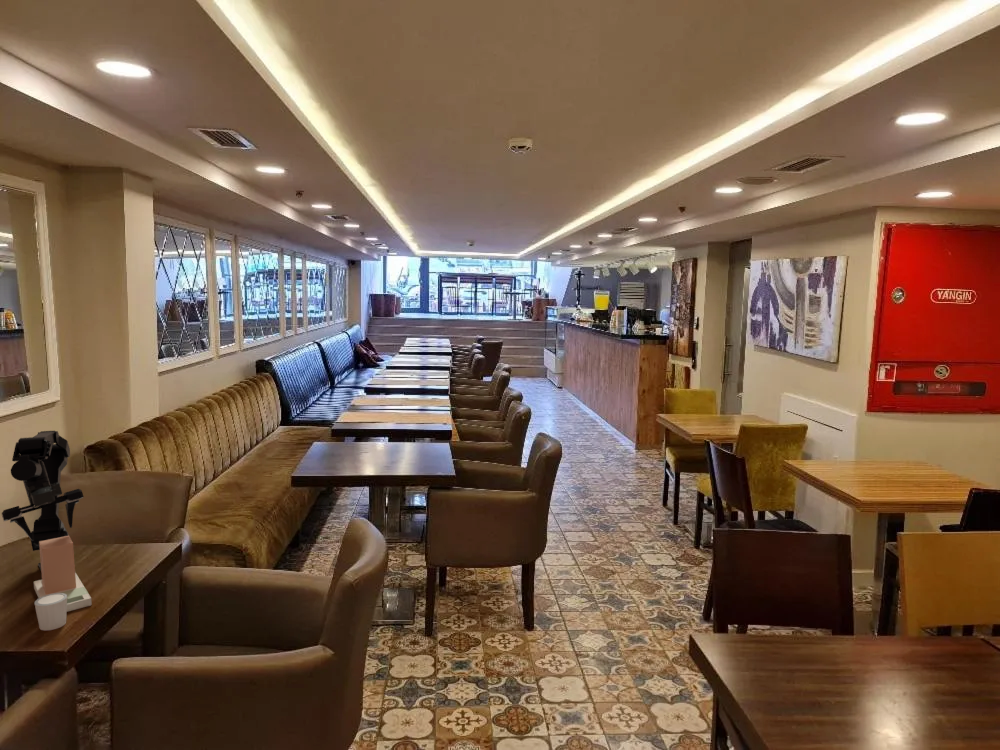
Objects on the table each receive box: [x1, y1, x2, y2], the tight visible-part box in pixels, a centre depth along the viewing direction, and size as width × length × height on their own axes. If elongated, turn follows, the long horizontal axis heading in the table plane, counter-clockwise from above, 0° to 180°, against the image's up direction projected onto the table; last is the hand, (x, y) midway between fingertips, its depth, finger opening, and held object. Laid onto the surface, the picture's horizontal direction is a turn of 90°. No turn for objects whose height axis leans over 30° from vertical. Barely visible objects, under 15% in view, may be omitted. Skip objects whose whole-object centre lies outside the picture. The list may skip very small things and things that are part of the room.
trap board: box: [33, 572, 93, 612], centre depth 179 cm, size 22×10×2 cm, turn 43°
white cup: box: [34, 593, 67, 631], centre depth 163 cm, size 7×7×7 cm
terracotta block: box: [39, 535, 76, 595], centre depth 179 cm, size 7×7×13 cm
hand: (52, 533), depth 181 cm, fingers open, 9 cm apart
